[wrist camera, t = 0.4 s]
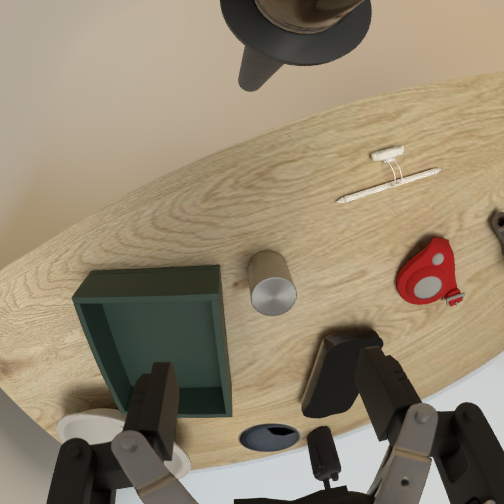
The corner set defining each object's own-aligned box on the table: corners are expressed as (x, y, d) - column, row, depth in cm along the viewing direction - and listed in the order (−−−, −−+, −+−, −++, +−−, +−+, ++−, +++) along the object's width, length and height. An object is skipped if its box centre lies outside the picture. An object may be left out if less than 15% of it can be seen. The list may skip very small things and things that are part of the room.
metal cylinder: (246, 251, 34) (250, 278, 29) (287, 249, 34) (297, 275, 29) (248, 286, 36) (251, 317, 31) (286, 284, 36) (296, 314, 31)
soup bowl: (49, 372, 41) (35, 401, 35) (188, 392, 43) (184, 427, 37) (88, 446, 51) (81, 470, 45) (196, 461, 53) (195, 488, 47)
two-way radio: (315, 441, 52) (330, 506, 38) (297, 438, 50) (310, 506, 37) (333, 426, 50) (353, 494, 36) (315, 422, 49) (332, 494, 35)
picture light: (336, 204, 33) (342, 210, 31) (326, 165, 31) (332, 169, 29) (439, 171, 32) (449, 175, 30) (433, 136, 30) (444, 138, 28)
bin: (91, 270, 34) (71, 297, 28) (219, 264, 35) (218, 293, 29) (129, 384, 42) (121, 414, 36) (231, 385, 43) (232, 417, 37)
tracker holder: (388, 309, 38) (416, 248, 31) (384, 286, 41) (408, 226, 35) (462, 317, 36) (495, 263, 30) (454, 295, 40) (483, 242, 33)
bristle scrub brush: (322, 323, 39) (330, 341, 36) (379, 324, 40) (389, 340, 37) (295, 402, 46) (299, 420, 42) (344, 400, 46) (350, 416, 43)
